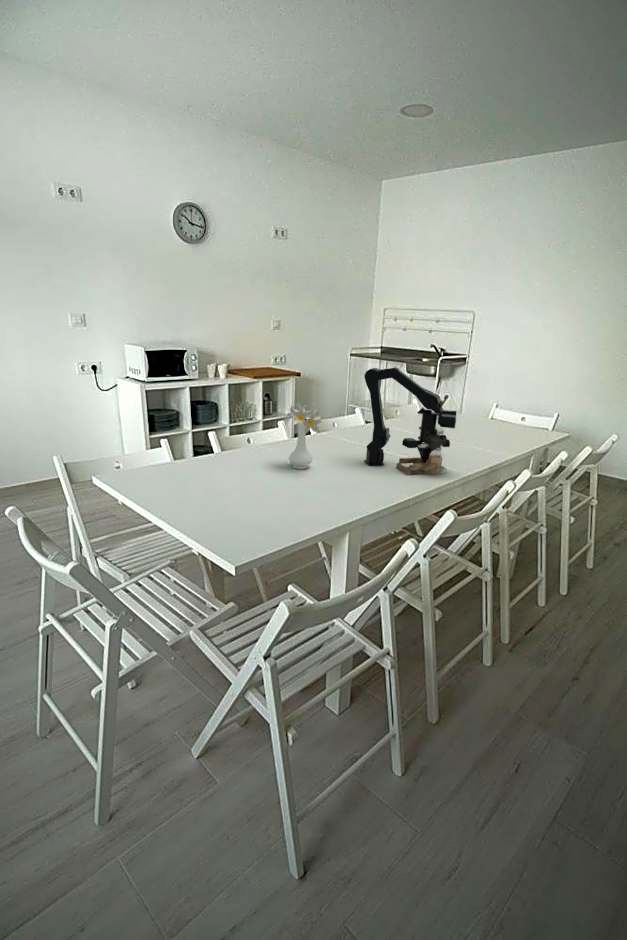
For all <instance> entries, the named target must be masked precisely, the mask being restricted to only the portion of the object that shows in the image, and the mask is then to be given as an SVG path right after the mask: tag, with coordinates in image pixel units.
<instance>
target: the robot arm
mask: <svg viewBox="0 0 627 940" xmlns="http://www.w3.org/2000/svg"><path fill="white" fill-rule="evenodd" d="M363 379H364V381H365V384H366V387H367V389H368V391H369V397H370V404H371V411H372V420H373V430H372V439H371V441H370V442H369V443H368V444H367V445H366V456H365V460H364V461H363V462H364V463H366V464H367V465H369V466H384V465H385V463H384V460H385V459H384V458H385V453H384V449H383V448H384V447H385V446H386V445H387V444H388V443H389V441H390V438H391V435H390V427H386V425H385V422H384V421H385V419H384V413H383V403H382V394H381V387H382V382H383V381H382V380H387V379H392V380H394V381H396V382H397V383H398V384H399V385H401V386H402V387H403V388H405V389H406V390H407V391H409V392H410V393H411V394H412V395H414V396H415V397H416V398H417V400H418V402H420V404H421V405H423V406H422V407H421V408H420V409H419V410H418V411H417V414H419V415H421V423H420V426H418V427H419V428H418V429H419V430H420V431H419V432H420V433H419V436H417V439H415V438H413V437H406V438H405V437H404V438H403V440H402V446H404V447H406V448H407V449H417V450H418V452H419V456H420V457H421V459H422V463H426V461H427V459H428V457H429V455H430V453H431V452H432V451H433V450H435V449H437V448H440V447H441V445H442V448H450V446H451V441H450V440H449V439H447V436H446V434H443V435H437V429H436V421H437V416H439V417H438V424H439V425H440V427H444V428H446V429H447V428H448V429H456V425H457V424H456V423H457V410H447V409H446V410H445V409H444V408H443V407H442V405H441V403H440V396H439V395H438V394H436V393H435V392H433V391H431V390H430V389H426V388H424V387H422V386H421V385H420V384H418V383H417V382H416V381H415V380H414V379H412V378H411V377H409V376H408V375H406V374H405V373H404V372H403V371H401V370H400V369H399V368H398V367H397V366H395V367H394V366H393V367H392V368H391V367H390V368H389V367H388V368H383V369H379V368H377V367H372V368H369V369H368V370H366V371H365V373H364V378H363Z"/></svg>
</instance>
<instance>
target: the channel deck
mask: <svg viewBox="0 0 627 940" xmlns="http://www.w3.org/2000/svg"><path fill="white" fill-rule="evenodd" d="M403 464H409V466H405V465H403ZM396 469H397V470H399V471H401V472H402V473H404V474H405V475H406V476H411V475H421V474H422V475H437V474H442V475H443V474H447V473H448V468H447V467H445V466H443V464H442V465H441V467H438V464H424V463H422V459H421V456H420V457H402V458H400V457H399V459H398V462H397V463H396Z"/></svg>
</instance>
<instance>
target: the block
mask: <svg viewBox="0 0 627 940" xmlns="http://www.w3.org/2000/svg"><path fill="white" fill-rule="evenodd" d="M424 464H438V467H441V465H442V466H443V457H442V456H441V455H437V454H430V455H429V457H428V459H427V461H426V463H424Z"/></svg>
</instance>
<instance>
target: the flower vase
mask: <svg viewBox="0 0 627 940" xmlns="http://www.w3.org/2000/svg"><path fill="white" fill-rule="evenodd" d="M294 407H296V408H294ZM308 409H309V405H308V404H305V405H303V406H301V404H300V403H299V402H296V403H295V406H294V405H290V409H289V412H288V413H287V414H286V415H285V417H286V420H285V421H284V423H287V422H288V421H289V420H291V419H292V418H294V419H293V420H292V425H294V426H295V425H297V442H296V446H295V448H294V450H293V451H292V452H291V453H290V454H289V457H288V460H289V463H290V464H291V465H292V467H293V468H294V469H297V470H298V469H299V470H304V469H308V468H309V465H311V463H312V462H313V456H312V455H311V453H310V452H309V451H308V449H307V445H306V434H307V433H308V432H310V430H311V431H313V432H316V433H317V432H318V426H319V427H320V426H321V422H322V419H321V418H322V417H321V415H320V414H319V411H318V410H317V409H316V406H314V405H312V408H311V409H310V410H308ZM317 425H318V426H317Z"/></svg>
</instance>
